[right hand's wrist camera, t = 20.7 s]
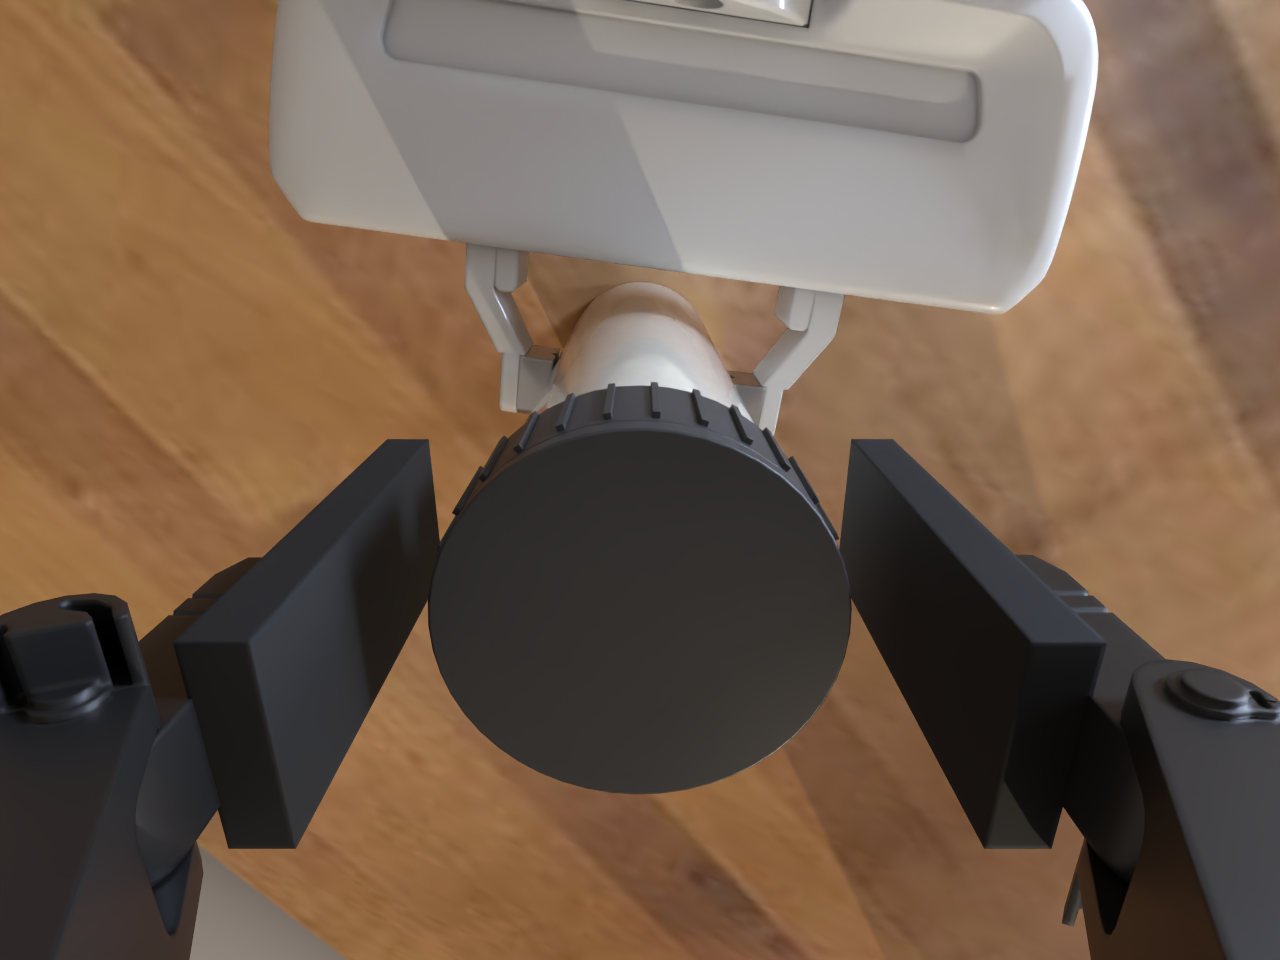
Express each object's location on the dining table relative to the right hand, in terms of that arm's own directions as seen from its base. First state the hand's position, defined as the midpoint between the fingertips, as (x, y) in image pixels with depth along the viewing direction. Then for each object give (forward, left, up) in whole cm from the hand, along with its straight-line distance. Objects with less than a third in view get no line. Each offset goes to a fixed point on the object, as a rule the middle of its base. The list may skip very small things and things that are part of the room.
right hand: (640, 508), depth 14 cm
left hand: (0, +1, -9) cm, 9 cm away
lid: (0, 0, +4) cm, 4 cm away
